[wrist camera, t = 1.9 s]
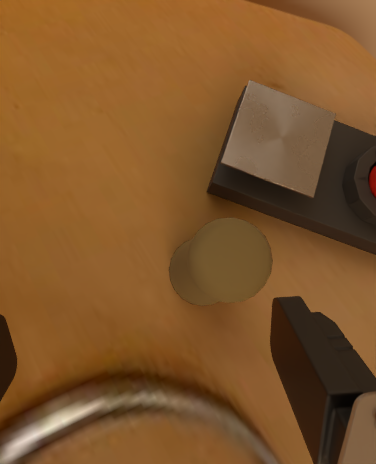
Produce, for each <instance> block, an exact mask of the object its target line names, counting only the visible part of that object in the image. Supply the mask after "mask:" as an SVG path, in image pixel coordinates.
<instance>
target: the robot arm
mask: <svg viewBox="0 0 376 464" xmlns="http://www.w3.org/2000/svg"><path fill="white" fill-rule="evenodd" d="M270 346H271V353H272V357H273V361H274V363H275V366H276V369H277V371H278V374H279V376H280V379H281V381H282V384H283V386H284V389H285V392H286V394H287V397H288V399H289V402H290V404H291V407H292V409H293V412H294V415H295V417H296V420H297V422H298V425H299V427H300V430H301V432H302V435H303V437H304V440H305V443H306V445H307V448H308V450H309V453H310V455H311V458H312V460H313V463H314V464H376V378H375V376H374V375H373V374H372V372H371V371H370V370H369V368H368V367H367V365H366V364H365V363H364V361H363V360H362V359H361V357H360V356H359V355H358V353H357V352H356V351H355V349H353V346H352V345H351V344H350V342H349V341H348V340H347V338H345V337H344V334H343V333H342V331H341V330H340V329H339V327H338V326H337V325H336V323H335V322H333V321H332V320H331V319H329V318H328V317H326V316H325V315H323V314H322V313H321V312H312V313H311V312H310V310H309V309H308V307H307V306H306V304H305V303H304V301H303V299H302V298H301V297H300V296H294V297H279V298H274V299H273V303H272V318H271V335H270ZM16 368H17V356H16V352H15V349H14V346H13V342H12V339H11V335H10V332H9V329H8V325H7V322H6V319H5V318H4V316H2V315H0V401H1V399H2V398H3V396H4V394H5V392H6V391H7V389H8V387H9V385H10V384H11V382H12V380H13V378H14V376H15V373H16Z"/></svg>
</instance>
